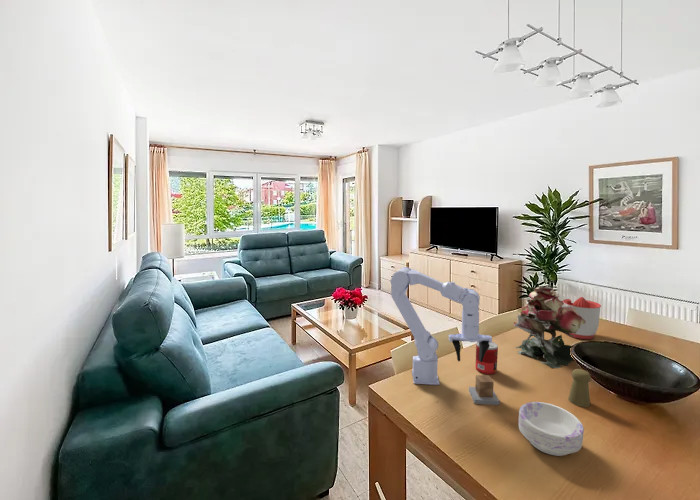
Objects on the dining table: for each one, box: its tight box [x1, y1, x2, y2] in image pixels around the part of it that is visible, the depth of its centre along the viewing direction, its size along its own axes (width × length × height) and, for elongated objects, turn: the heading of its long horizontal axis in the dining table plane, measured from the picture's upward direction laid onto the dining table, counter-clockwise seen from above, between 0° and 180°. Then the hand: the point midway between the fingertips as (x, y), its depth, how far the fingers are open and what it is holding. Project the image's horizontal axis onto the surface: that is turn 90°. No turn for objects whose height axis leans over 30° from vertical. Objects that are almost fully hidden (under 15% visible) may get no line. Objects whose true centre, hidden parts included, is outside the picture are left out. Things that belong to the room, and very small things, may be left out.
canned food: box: [475, 341, 499, 375], centre depth 131 cm, size 8×8×11 cm
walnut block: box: [474, 374, 495, 397], centre depth 113 cm, size 4×4×6 cm
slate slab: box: [468, 386, 500, 406], centre depth 113 cm, size 8×8×2 cm
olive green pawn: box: [568, 368, 592, 408], centre depth 109 cm, size 6×6×11 cm
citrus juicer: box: [562, 296, 602, 340], centre depth 165 cm, size 16×17×20 cm
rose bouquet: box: [513, 286, 586, 369], centre depth 147 cm, size 26×29×30 cm
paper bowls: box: [518, 401, 585, 457], centre depth 91 cm, size 15×15×8 cm
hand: (469, 360), depth 118 cm, fingers open, 7 cm apart
